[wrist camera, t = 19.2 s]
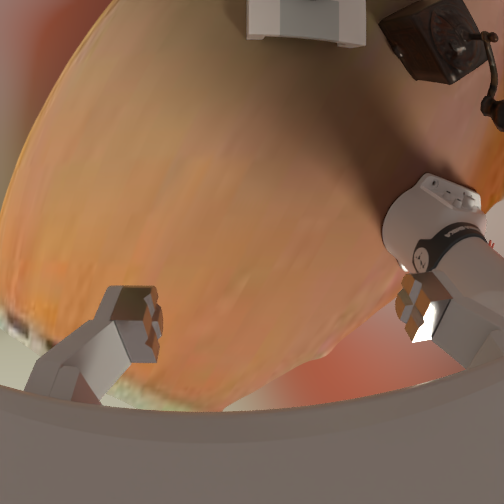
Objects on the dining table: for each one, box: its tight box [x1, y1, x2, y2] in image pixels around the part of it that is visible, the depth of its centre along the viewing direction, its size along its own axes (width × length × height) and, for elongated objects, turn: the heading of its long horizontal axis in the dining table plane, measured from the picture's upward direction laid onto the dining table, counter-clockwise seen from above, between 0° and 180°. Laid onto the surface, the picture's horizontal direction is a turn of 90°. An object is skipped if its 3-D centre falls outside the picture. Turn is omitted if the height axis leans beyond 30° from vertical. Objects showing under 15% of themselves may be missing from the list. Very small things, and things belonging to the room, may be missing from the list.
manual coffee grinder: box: [379, 0, 504, 132], centre depth 25 cm, size 16×11×18 cm
